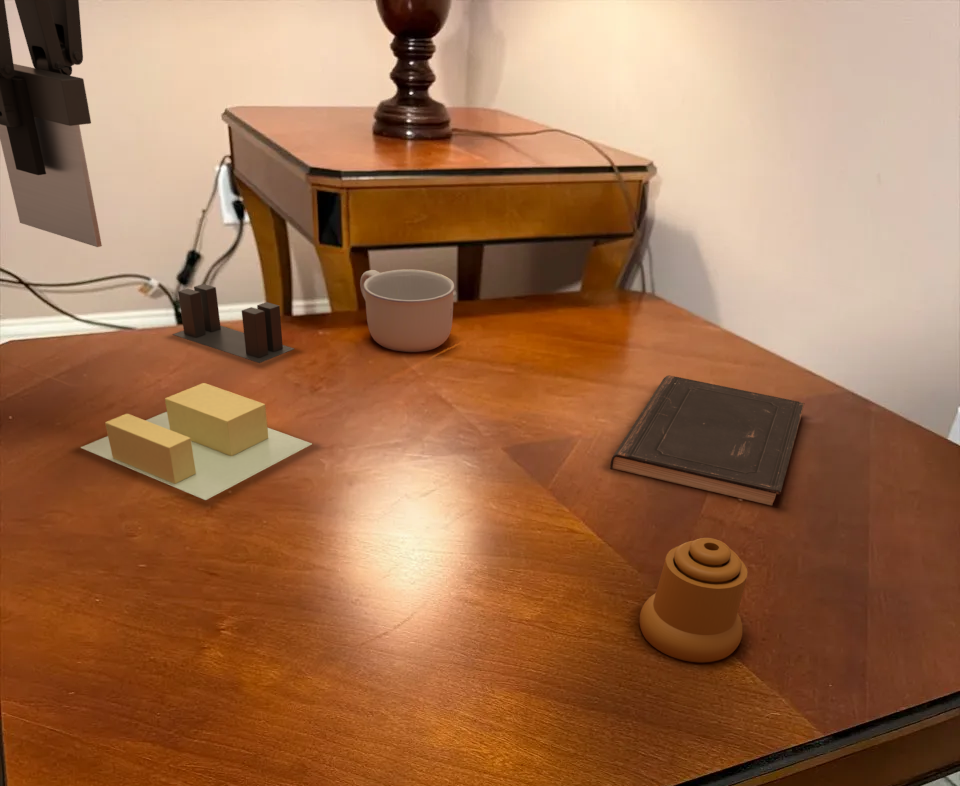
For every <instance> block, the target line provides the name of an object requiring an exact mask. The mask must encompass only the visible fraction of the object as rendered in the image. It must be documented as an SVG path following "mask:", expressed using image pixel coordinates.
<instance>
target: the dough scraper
mask: <svg viewBox="0 0 960 786" xmlns="http://www.w3.org/2000/svg"><path fill="white" fill-rule="evenodd" d="M13 64H14V76H13V77H16V78H20V79H25V80H26V84H27V88H28V93H29V98H30V102H31V107H32V112H33V116H34V119H35V124H36V129H37V134H38V138H39V143H40V148H41V152H42V157H43V162H44V166H45V171H46V174H44V175H35V174H31V173H28V172H24V171H21V170H17V169H16V166H15V161H14V157H13V153H12V148H11V144H10V140H9V135H8V131H7V127H6V126H4V125H1V124H0V146H1V149H2V154H3V157H4V162H5V166H6V171H7V176H8V178H9V179H8V180H9V183H10V187H11V191H12V196H13V200H14V205H15V209H16V212H17V216H18V220H19V224H23V225H26V226H29V227H32V228H34V229H39V230H42V231H45V232H48V233H50V234H54V235H57V236H61V237H64V238H67V239H70V240H74V241H76V242H79V243H83V244H86V245H89V246H92V247H95V248H100V247H102V246H103V244H102V239H101V234H100V228H99V224H98V223H99V222H98V217H97V213H96V212H97V211H96V207H95V201H94V196H93V189H92V185H91V180H90V175H89V174H90V173H89V170H88V164H87V158H86V153H85V148H84V142H83V137H82V131H81V126H83V125H88V124H89V125H91V124H92V119H91V113H90V108H89V102H88V97H87V91H86V86H85V80H84V78H82V77H78V76H74V75H70V76H69V75H64V74H60V73H55V72H50V71H46V70H41V69H36V68H34V67H31V66H26V65H22V64H17V63H13Z"/></svg>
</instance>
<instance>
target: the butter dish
mask: <svg viewBox="0 0 960 786" xmlns="http://www.w3.org/2000/svg"><path fill="white" fill-rule="evenodd" d="M144 420H145V419H144ZM145 421H148V422H151V423H153V424H156V425H158V426H161V427H164V428H166V429H169V430H170V426H169V420H168V415H167V411H165V412H162V413H159V414H158V415H155V416H153V417H150V418H148V419H146V420H145ZM267 428H268V439H266V440H264V441H262V442H260V443H258V444H256V445H253V446H251V447H249V448H247V449H245V450H243V451H241V452H239V453H237V454H235V455H233V456H230V455H227V454H224V453H222V452H219V451H217V450H214V449H211V448H209V447H206V446H204V445H201V444H199V443H196V442H193V441H191V444H192V451H193V457H194V463H195V470H196V474H194V475H192V476H190V477H188V478H186V479H184V480H182V481H180V482H178V483H176V484H174V483H172V482H169V481H167V480H165V479H162V478H160V477H157V476H155V475H153V474H150V473H148V472H146V471H143V470H141V469H138V468H136V467H134V466H131V465H129V464H126V463H124V462H122V461H119V460H117V459H114V458H113V456H112V452H111V447H110V443H109V438H108V435H106V436H105V437H102V438H99V439H97V440H94V441H92V442H90V443H87V444H85V445H82V446H80V449H83V450H84V451H87V452H90V453H92V454H94V455H97V456H99V457H100V458H103V459H107V460H109V461H110V462H113V463H116V464H117V465H120V466H123V467H125V468H128V469H130V470H132V471H135V472H137V473H139V474H141V475H144V476H147V477H149V478H151V479H153V480H156V481H159V482H161V483H164V484H165V485H168V486H171V487H173V488H175V489H178V490H180V491H182V492H185V493H187V494H189V495H193V496H194V497H197V498H199V499H202V500H204V501H207V500H209V499H211V498H213V497H215V496H217V495H219V494H220V493H222V492H224V491H226V490H228V489H230V488H232V487H234V486H236V485H238V484H239V483H241V482H243V481H245V480H248V479H249V478H251V477H252V476H255V475H257V474H259V473H261V472H262V471H264V470H266V469H268V468H270V467H272V466H274V465H276V464H278V463H279V462H281V461H283V460H285V459H287V458H289V457H290V456H293V455H295V454H297V453H299V452H300V451H302V450H304V449H306V448H308V447H310V446H311V445H313V443H312V442H309V441H307V440H303V439H301V438H298V437H296V436H292V435H290V434H287V433H284V432H281V431H279V430H276V429H273V428H271V427H268V426H267Z"/></svg>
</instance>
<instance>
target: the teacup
mask: <svg viewBox="0 0 960 786" xmlns="http://www.w3.org/2000/svg"><path fill="white" fill-rule="evenodd" d="M359 281H360V282H359V286H360V292H361V295H362V298H363V299H364V301H365V312H366V322H367V328H368V332H369V334H370V336H371V337H372V339H373V341H375V342H376V343H377V344H378V345H379V346H382V347H383V348H385V349H388V350H391V351H397V352H401V353H422V352H428V351H432V350H434V349H436V348H438V347H440V346H442V345H443V344H445V342H446V341H447V340H448V338H449V337H450V335H451V332H452V327H453V317H454V292H455V283H454V281H453V280H452V279H451V278H450V277H447V276H446V275H444V274H441V273H438V272H434V271H429V270H424V269H414V268H413V269H412V268H411V269H409V268H408V269H407V268H405V269H393V270H386V271H383V272H380V271H378V270H376V269H370V270H366V271H364V272H363V274H362V275H361V277H360V280H359Z"/></svg>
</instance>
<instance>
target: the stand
mask: <svg viewBox="0 0 960 786" xmlns="http://www.w3.org/2000/svg"><path fill="white" fill-rule="evenodd" d="M177 294H178V303H179V307H180V314H181V321H182V327H183V330H181V331H178V332H175V333H172V336H175V337H178V338H181V339H185V340H188V341H191V342H194V343H197V344H200V345H202V346H206V347H207V348H208V347H209V348H211V349H215V350H218V351H220V352H224V353H227V354H230V355H234V356H236V357H238V358H239V357H240V358H243V359H246V360H249V361H251V362H255V363H258V364H262V363H264V362H266V361H268V360H271V359H274V358H276V357H279V356H281V355H284V354H286V353H288V352H291V351H294V350H295V348H294V347H291V346H287V345H284V344H283V333H282V321H281V307H280V305H278V304H274V303H272V302H268V301H266V302H262V303H259V304H257V305H256V308H255V307H253V306H250V307H247V308H245V309H242V310H241V319H242V328H243V332H242V331H239V330H236V329H233V328H230V327H226V326H223V325H221V319H220V312H219V311H220V310H219V302H218V294H217V288H216V286H212V285H209V284H207V283H206V284H205V283H202V284H198V285H194V286H193V289H192V288H184V289H181V290H178V291H177Z"/></svg>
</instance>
